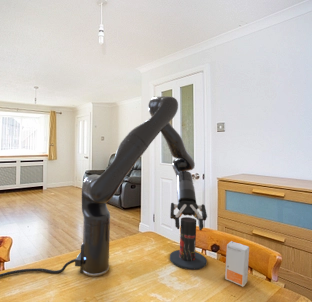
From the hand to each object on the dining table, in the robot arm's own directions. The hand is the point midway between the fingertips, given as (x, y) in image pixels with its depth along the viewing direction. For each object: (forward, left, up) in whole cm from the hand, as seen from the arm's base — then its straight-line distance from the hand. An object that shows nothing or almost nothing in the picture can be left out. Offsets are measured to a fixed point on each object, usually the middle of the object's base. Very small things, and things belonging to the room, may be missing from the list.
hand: (189, 228), depth 86 cm
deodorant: (0, +2, -12) cm, 12 cm away
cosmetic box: (+14, -11, -13) cm, 22 cm away
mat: (0, +1, -13) cm, 13 cm away
